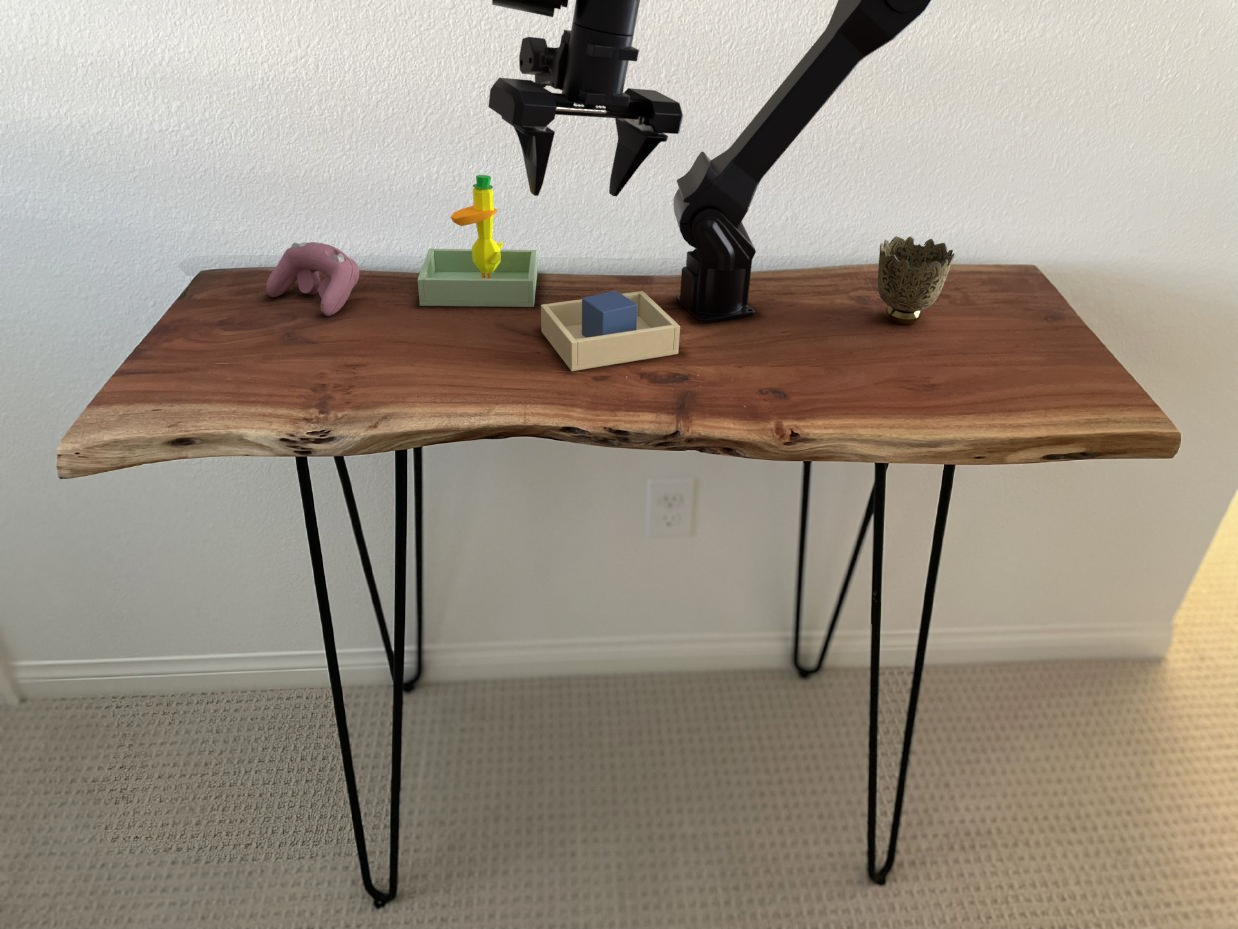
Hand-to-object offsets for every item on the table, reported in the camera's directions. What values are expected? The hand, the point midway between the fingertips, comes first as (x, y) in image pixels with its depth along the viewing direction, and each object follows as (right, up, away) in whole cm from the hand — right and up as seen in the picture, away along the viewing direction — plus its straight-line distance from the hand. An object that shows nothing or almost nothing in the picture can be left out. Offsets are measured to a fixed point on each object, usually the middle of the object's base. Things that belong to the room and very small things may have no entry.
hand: (574, 194), depth 93 cm
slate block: (+3, -14, 0) cm, 15 cm away
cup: (+35, -12, +7) cm, 37 cm away
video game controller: (-28, -9, +7) cm, 31 cm away
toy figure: (-11, -7, +10) cm, 17 cm away
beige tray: (+3, -15, 0) cm, 15 cm away
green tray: (-11, -8, +10) cm, 17 cm away
